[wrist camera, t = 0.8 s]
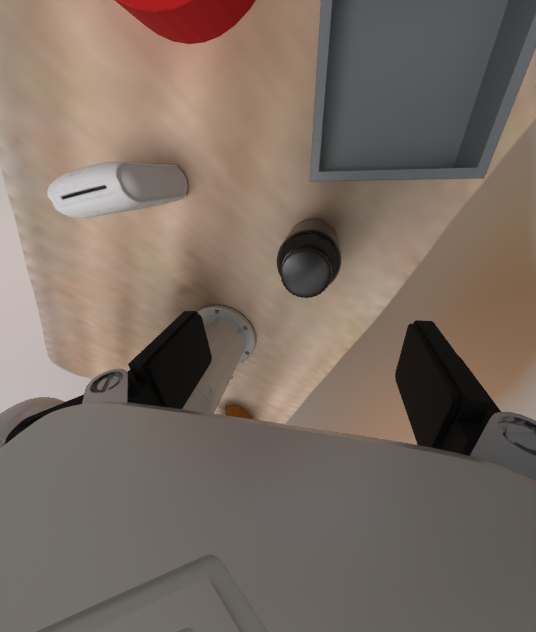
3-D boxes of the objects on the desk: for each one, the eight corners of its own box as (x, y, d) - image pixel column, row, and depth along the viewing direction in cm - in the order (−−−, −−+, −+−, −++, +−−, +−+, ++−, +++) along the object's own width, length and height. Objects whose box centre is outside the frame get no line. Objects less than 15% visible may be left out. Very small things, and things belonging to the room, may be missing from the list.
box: (455, 177, 25) (483, 178, 20) (312, 180, 28) (309, 181, 23) (536, -61, 17) (613, -148, 12) (326, -22, 20) (326, -81, 15)
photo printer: (133, 210, 35) (51, 225, 24) (119, 178, 33) (23, 179, 22) (193, 198, 32) (128, 209, 21) (182, 161, 30) (104, 153, 19)
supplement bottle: (336, 268, 32) (340, 309, 22) (288, 268, 34) (271, 307, 24) (340, 215, 29) (346, 236, 19) (286, 218, 31) (265, 239, 20)
